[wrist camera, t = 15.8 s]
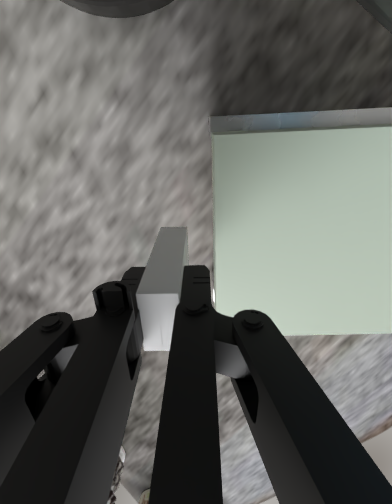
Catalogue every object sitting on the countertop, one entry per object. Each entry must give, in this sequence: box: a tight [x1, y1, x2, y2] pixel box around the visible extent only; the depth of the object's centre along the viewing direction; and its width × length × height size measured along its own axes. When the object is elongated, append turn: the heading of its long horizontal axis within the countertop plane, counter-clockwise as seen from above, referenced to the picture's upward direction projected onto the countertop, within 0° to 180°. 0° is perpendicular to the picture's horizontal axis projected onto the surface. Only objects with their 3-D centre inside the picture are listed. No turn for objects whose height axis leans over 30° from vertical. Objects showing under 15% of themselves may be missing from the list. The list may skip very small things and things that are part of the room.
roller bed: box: [209, 107, 392, 298], centre depth 19 cm, size 14×16×5 cm
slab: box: [211, 124, 392, 336], centre depth 16 cm, size 12×14×3 cm
